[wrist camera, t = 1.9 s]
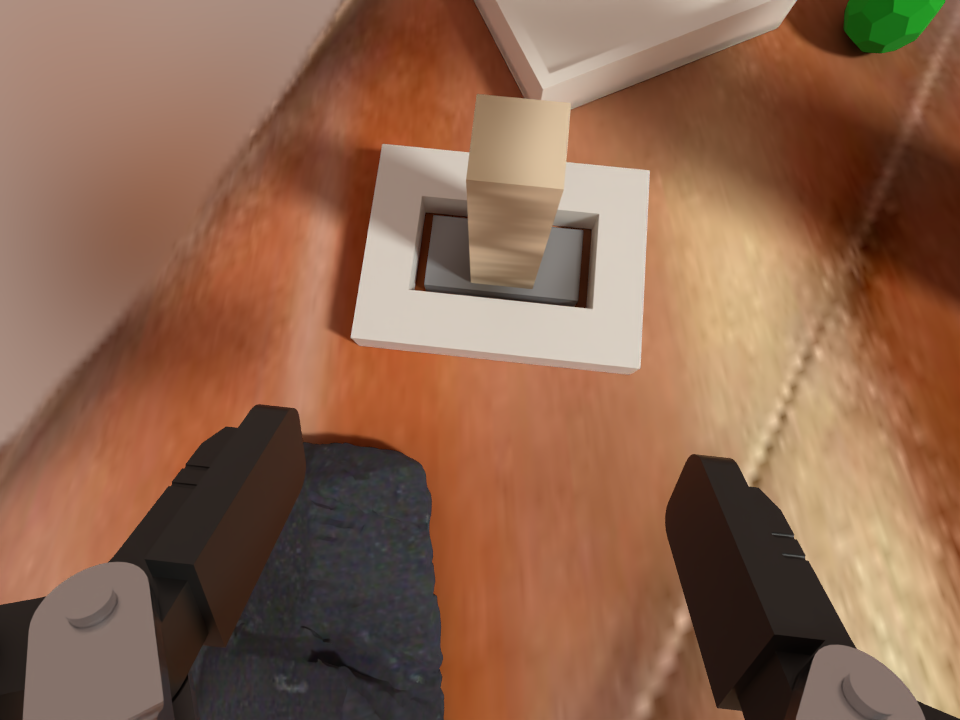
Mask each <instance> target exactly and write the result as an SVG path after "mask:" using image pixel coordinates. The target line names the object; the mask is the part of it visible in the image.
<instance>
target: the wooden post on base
mask: <svg viewBox="0 0 960 720" xmlns="http://www.w3.org/2000/svg"><path fill="white" fill-rule="evenodd" d="M570 110H571V103H565V102H555V101H545V100H535V99H524V98H514V97H504V96H493V95H483V94H477V96H476V104H475V112H474V120H473V128H472V136H471V144H470V152H469V160H468V168H467V176H466V189H467V210H468V219H467V218H457V217H448V216H438V215H434V216H433V223H432V231H431V238H430V245H429V252H428V260H427V267H426V274H425V282H424V286H425V289H426V291H429V292H439V293H448V294H458V295H467V296H477V297H486V298H496V299H505V300H515V301H525V302H534V303H544V304H553V305H563V306H572V307H575V305H576V303H577V302H578V297H579V283H580V270H581V256H582V243H583V230H575V229H565V228H556V227H552V225H553V222H554V219H555V216H556V213H557V210H558V206H559V203H560V200H561V197H562V194H563V190H564V182H565V170H566V158H567V146H568V134H569V122H570Z"/></svg>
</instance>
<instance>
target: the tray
mask: <svg viewBox="0 0 960 720" xmlns="http://www.w3.org/2000/svg"><path fill="white" fill-rule="evenodd" d="M796 1H797V0H474V2H475V4H476V6H477V8H478V10H479V12H480V14H481V16H482V18H483V19H484V21H485V23H486V25H487V27H488V29H489V31H490V33H491V35H492V37H493V39H494V41H495V43H496V45H497V46H498V48H499V50H500V52H501V54H502V56H503V58H504V60H505V62H506V64H507V66H508V68H509V70H510V71H511V73H512V75H513V77H514V79H515V81H516V83H517V85H518V87H519V89H520V91H521V93H522V95H523V96H524V98H525V99H535V100H545V101H555V102H565V103H571V109H574V108H576V107H579V106H581V105H584V104H586V103H589V102H591V101H594V100H597V99H599V98H602V97H604V96H607V95H609V94H612V93H614V92H617V91H619V90H622V89H624V88H627V87H629V86H632V85H635V84H637V83H640V82H642V81H645V80H647V79H650V78H652V77H655V76H657V75H660V74H662V73H665V72H667V71H670V70H673V69H675V68H678V67H680V66H683V65H685V64H688V63H690V62H693V61H695V60H698V59H700V58H703V57H706V56H708V55H711V54H713V53H716V52H718V51H721V50H723V49H726V48H728V47H731V46H733V45H736V44H738V43H741V42H744V41H746V40H749V39H751V38H754V37H756V36H759V35H761V34H764V33H766V32H769V31H771V30H774V29H776V28H778V27H779V25H780V24H781V23H782V21H783V20H784V18H785V17H786V15H787V14H788V12H789V11H790V10H791V8H792V7H793V5H794V4H795V2H796Z"/></svg>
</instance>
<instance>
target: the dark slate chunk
mask: <svg viewBox="0 0 960 720" xmlns="http://www.w3.org/2000/svg"><path fill="white" fill-rule="evenodd" d="M303 446H304V453H305V460H306V472H305V478H304V482H303V486H302V489H301V491H300V494H299V496H298V498H297V500H296V502H295V504H294V506H293V508H292V510H291V512H290V514H289V517H288V519H287V521H286V523H285V525H284V527H283V529H282V531H281V533H280V535H279V537H278V539H277V541H276V544H275V546H274V548H273V550H272V552H271V554H270V556H269V558H268V560H267V562H266V564H265V566H264V568H263V571H262V573H261V575H260V577H259V579H258V581H257V583H256V585H255V587H254V589H253V591H252V593H251V595H250V598H249V600H248V602H247V604H246V606H245V608H244V610H243V612H242V614H241V616H240V618H239V620H238V623H237V625H236V627H235V629H234V631H233V633H232V635H231V637H230V639H229V641H228V643H227V645H226V647H225V648H222V647H214V646H205V645H202V647H201V649H200V651H199V653H198V655H197V657H196V659H195V661H194V663H193V665H192V667H191V671H192V675H193V681H194V686H195V692H196V698H197V704H198V709H199V715H200V720H444V719H443V717H444V694H443V692H442V690H441V688H440V687H441V681H442V675H441V672H440V669H439V668H440V666H441V664H442V660H443V655H442V652H441V648H440V636H441V621H440V611H439V607H438V603H437V596H436V595H435V594H433V591H434V585H435V574H434V566H433V563H432V558H433V549H432V544H431V539H430V534H429V523H430V517H431V507H432V499H431V493H430V492H429V490H428V488H427V483H426V474H425V471H424V469H423V467H422V465H421V464H420V463H419V462H417V461H416V460H414V459H412V458H410V457H408V456H406V455H404V454H403V453H401V452H398V451H394V450H387V449H377V448H372V447H360V446H355V445H352V444H349V443H343V444H341V443H331V444H321V445H318V444H311V443H306V442H303Z"/></svg>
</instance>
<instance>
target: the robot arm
mask: <svg viewBox="0 0 960 720" xmlns="http://www.w3.org/2000/svg"><path fill="white" fill-rule="evenodd" d="M305 472H306V460H305V453H304V446H303V440H302V433H301V426H300V419H299V414H298V411H297V410H296V409H295V408H287V407H279V406H270V405H261V404H258V405H255V406H254V407H253V408H252V409H251V410H250V412H249V413H248V415H247V416H246V417H245V419H244V420H243V422H242V423H241V424H240V426H239V427H238V428H234V427H225V428H223V429H222V430H220V431H219V432H218V433H216V434H215V435H213V436H212V437H210V438H209V439H207V440H206V441H205V442H203V443H202V444H201V445H200V446H199V448H198V449H197V450H196V452H195V453H194V454H193V455H192V457H191V458H190V459H189V461H188V462H187V463H186V467H185V469H183V468H182V470H181V471H180V472H179V473H178V475H177V476H176V477H175V479H174V480H173V481H172V485H171V486H168V488H167V489H166V490H165V491H164V493H163V494H162V495H161V497H160V498H159V499H158V500H157V502H156V503H155V504H154V506H153V507H152V508H151V509H150V511H149V512H148V513H147V515H146V516H145V517H144V518H143V520H142V521H141V522H140V524H139V525H138V526H137V527H136V529H135V530H134V531H133V533H132V534H131V535H130V536H129V538H128V539H127V540H126V542H125V543H124V544H123V545H122V547H121V548H120V549H119V551H118V552H117V553H116V554H115V555H114V557H113V558H112V559H111V560H110V561H109V562H108V563H104V564H99V565H96V566H93V567H90V568H88V569H85V570H83V571H81V572H79V573H77V574H75V575H73V576H71V577H70V578H68V579H67V580H65V581H64V582H62V583H61V584H60V585H59V586H57V587H56V588H55V589H54V590H53V591H52V592H51V593H50V594H48V595H47V596H46V597H42V598H37V599H31V600H26V601H20V602H15V603H9V604H3V605H0V720H200V715H199V709H198V704H197V698H196V692H195V686H194V681H193V675H192V671H191V667H192V665H193V663H194V661H195V659H196V657H197V655H198V653H199V651H200V649H201V647H202V645H205V646H214V647H222V648H225V647H226V645H227V643H228V641H229V639H230V637H231V635H232V633H233V631H234V629H235V627H236V625H237V623H238V620H239V618H240V616H241V614H242V612H243V610H244V608H245V606H246V604H247V602H248V600H249V598H250V595H251V593H252V591H253V589H254V587H255V585H256V583H257V581H258V579H259V577H260V575H261V573H262V571H263V568H264V566H265V564H266V562H267V560H268V558H269V556H270V554H271V552H272V550H273V548H274V546H275V544H276V541H277V539H278V537H279V535H280V533H281V531H282V529H283V527H284V525H285V523H286V521H287V519H288V517H289V514H290V512H291V510H292V508H293V506H294V504H295V502H296V500H297V498H298V496H299V494H300V491H301V489H302V486H303V482H304V478H305ZM665 526H666V533H667V537H668V541H669V544H670V548H671V551H672V554H673V558H674V561H675V565H676V568H677V572H678V575H679V579H680V582H681V586H682V589H683V592H684V596H685V599H686V603H687V606H688V610H689V613H690V617H691V620H692V623H693V627H694V630H695V634H696V637H697V641H698V644H699V648H700V651H701V655H702V658H703V661H704V665H705V668H706V672H707V675H708V679H709V682H710V686H711V689H712V693H713V696H714V699H715V703H716V706H717V708H722V709H731V710H739V711H742V712H743V715H744V718H745V720H960V719H958V718H956V717H954V716H951V715H949V714H947V713H944V712H942V711H939V710H937V709H935V708H932V707H930V706H928V705H925V704H923V703H921V702H919V701H917V700H916V699H915V697H914V696H913V694H912V693H911V692H910V690H909V689H908V688H907V687H906V685H905V684H904V683H903V682H902V681H901V680H900V679H899V678H898V677H897V676H896V675H895V674H894V673H893V672H892V671H891V670H890V669H888V668H887V667H886V666H885V665H884V664H882V663H881V662H879V661H878V660H876V659H875V658H873V657H872V656H870V655H868V654H866V653H865V652H862V651H860V650H858V649H857V648H856V647H855V645H854V644H853V642H852V640H851V638H850V637H849V635H848V633H847V631H846V629H845V627H844V626H843V624H842V622H841V620H840V618H839V616H838V614H837V613H836V611H835V609H834V607H833V605H832V603H831V602H830V600H829V598H828V596H827V594H826V592H825V591H824V589H823V587H822V585H821V583H820V581H819V579H818V578H817V576H816V574H815V572H814V570H813V568H812V567H811V565H810V563H809V561H806V560H805V554H804V552H803V550H802V548H801V546H800V545H799V543H798V541H797V540H795V539H794V533H793V532H792V530H791V528H790V526H789V524H788V522H787V521H786V519H785V517H784V515H783V513H782V511H781V510H780V509H779V508H778V507H777V506H776V505H775V504H774V503H773V502H772V501H771V500H770V499H769V498H768V497H767V496H766V495H765V494H764V493H763V492H762V491H761V490H760V489H759V488H756V487H749V486H748V484H747V482H746V480H745V478H744V476H743V474H742V472H741V470H740V468H739V466H738V465H737V463H736V462H735V461H734V460H733V459H731V458H723V457H714V456H705V455H696V454H693V455H691V456H690V457H689V458H688V459H687V461H686V463H685V466H684V468H683V470H682V472H681V475H680V477H679V479H678V482H677V484H676V486H675V488H674V491H673V493H672V495H671V498H670V500H669V502H668V505H667V509H666V516H665Z"/></svg>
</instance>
